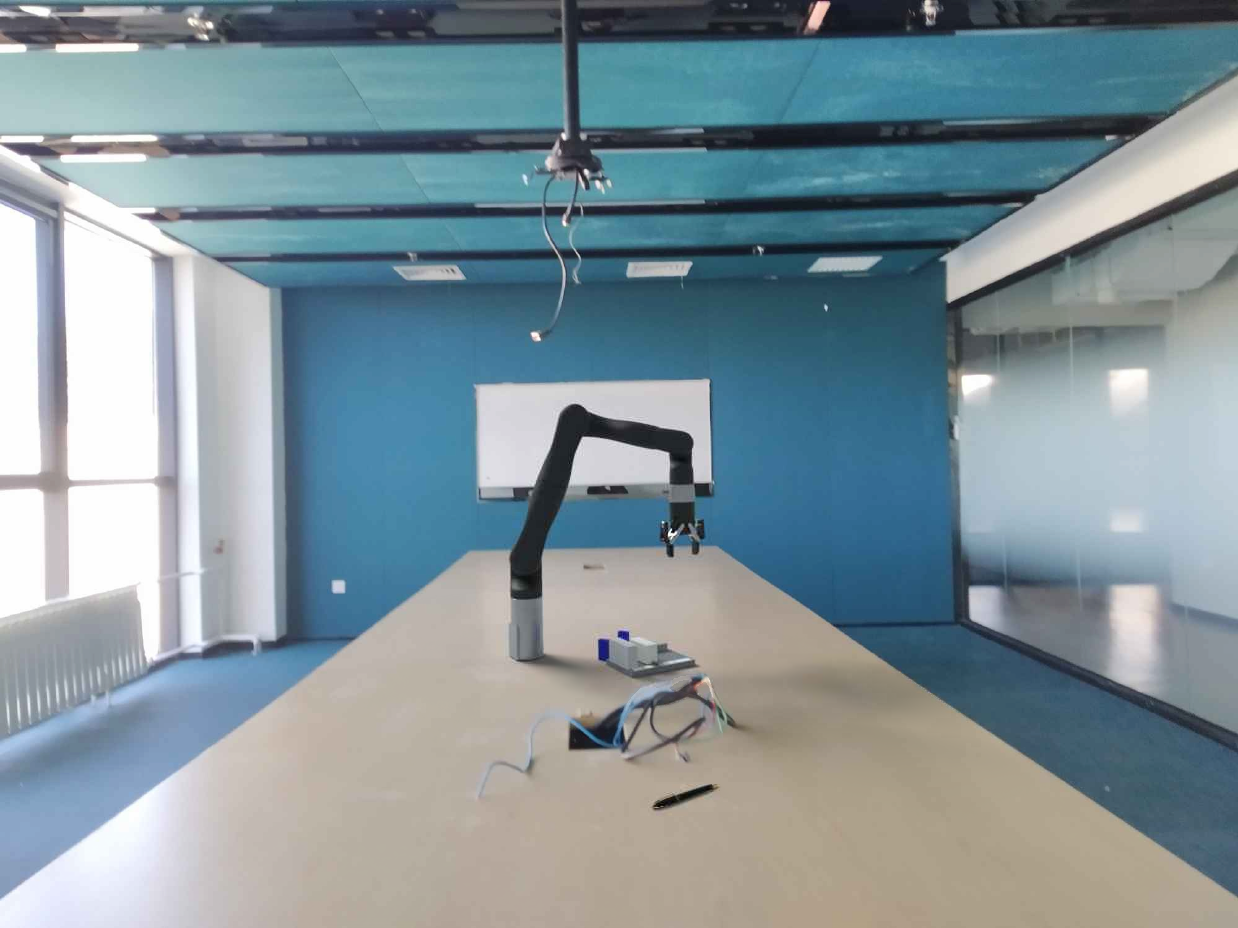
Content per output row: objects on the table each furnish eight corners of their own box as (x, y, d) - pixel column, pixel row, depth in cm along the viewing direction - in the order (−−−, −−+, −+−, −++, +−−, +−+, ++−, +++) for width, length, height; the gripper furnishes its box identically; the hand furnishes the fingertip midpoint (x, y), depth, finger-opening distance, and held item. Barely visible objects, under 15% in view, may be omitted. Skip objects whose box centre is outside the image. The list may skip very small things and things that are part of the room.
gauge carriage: (651, 666, 186) (651, 647, 186) (629, 656, 196) (629, 638, 196) (664, 664, 188) (664, 645, 188) (641, 654, 198) (641, 636, 198)
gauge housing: (631, 677, 183) (631, 648, 183) (606, 664, 195) (605, 637, 195) (695, 665, 193) (694, 637, 193) (666, 653, 205) (666, 627, 205)
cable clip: (616, 649, 211) (616, 629, 211) (629, 651, 209) (629, 631, 208) (594, 659, 201) (593, 638, 201) (607, 662, 198) (606, 640, 198)
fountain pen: (716, 785, 123) (716, 777, 123) (721, 788, 122) (721, 779, 122) (649, 809, 115) (649, 800, 115) (653, 812, 114) (653, 803, 114)
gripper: (694, 498, 212) (695, 552, 213) (654, 500, 205) (655, 556, 206) (709, 499, 206) (710, 555, 206) (668, 501, 199) (669, 559, 199)
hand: (683, 555), depth 206 cm, fingers open, 8 cm apart
